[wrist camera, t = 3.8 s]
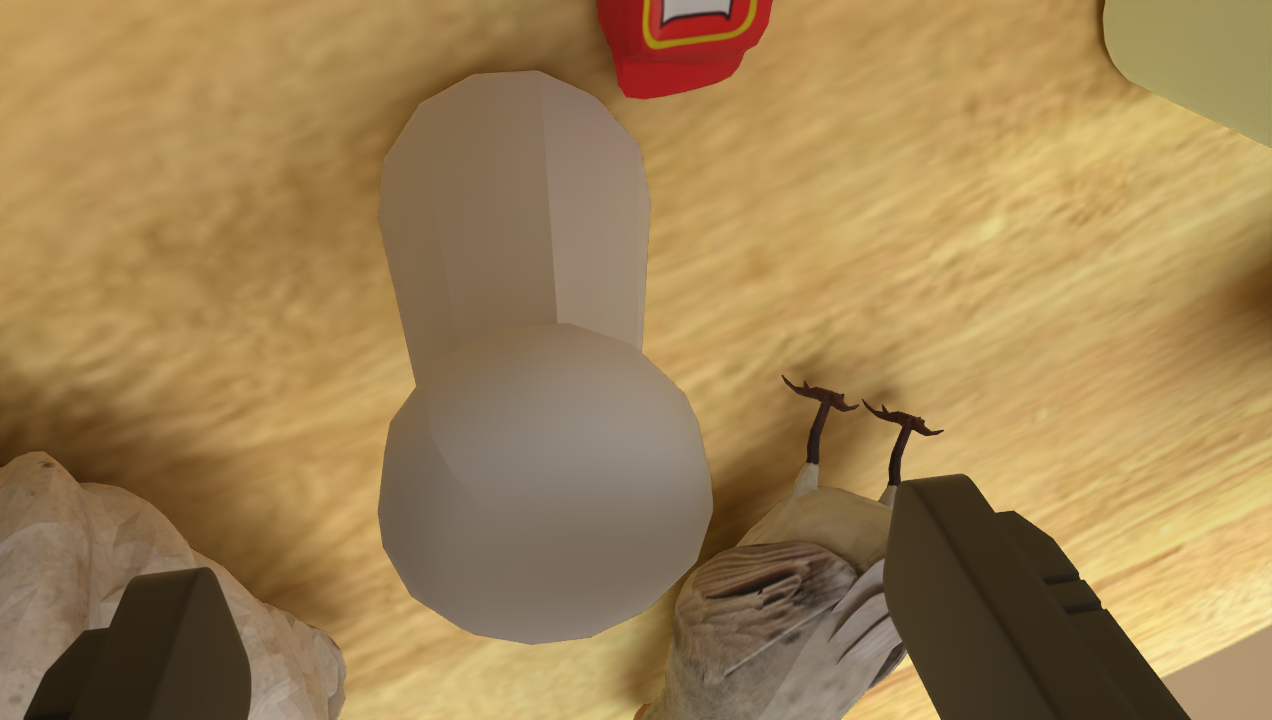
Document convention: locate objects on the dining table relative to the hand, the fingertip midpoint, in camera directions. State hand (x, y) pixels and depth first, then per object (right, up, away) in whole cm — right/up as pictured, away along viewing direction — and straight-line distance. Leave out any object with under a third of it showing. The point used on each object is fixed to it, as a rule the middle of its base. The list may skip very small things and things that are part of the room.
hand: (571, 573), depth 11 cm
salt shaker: (-2, +7, +11) cm, 13 cm away
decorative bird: (+4, -4, +19) cm, 20 cm away
